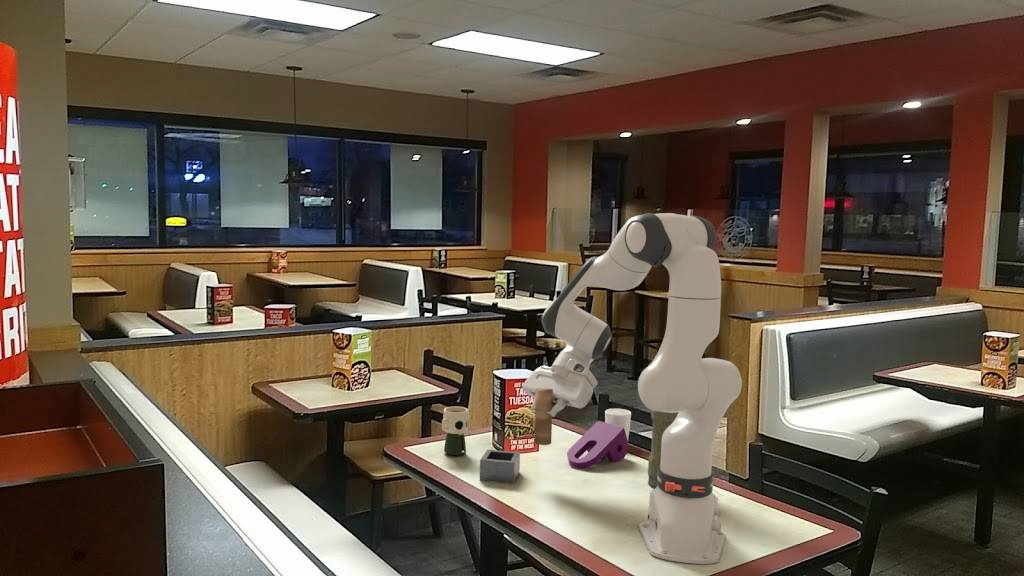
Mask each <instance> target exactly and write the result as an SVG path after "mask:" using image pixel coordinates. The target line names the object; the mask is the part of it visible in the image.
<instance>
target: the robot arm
mask: <svg viewBox="0 0 1024 576" xmlns="http://www.w3.org/2000/svg"><path fill="white" fill-rule="evenodd" d="M717 238H718V237H717V231H716V229H715V226H714V225H713V224H712V222H711V221H709V220H708V219H706V218H704V217H701V216H697V215H686V214H685V215H684V214H679V213H678V214H677V213H674V212H672V213H671V212H665V213H661V212H660V213H649V212H648V213H644V214H643V213H642V214H639V215H634V216H632V217H629V219H628V220H627V221H626V223H624V224H623V226H622V227H621V229H619V231H618V232H617V234H616V235H615V237H614V239H613V240H612V242H611V243H610V246H609V247H608V250H607V251H606V252H605V253H603V254H601V255H600V256H592V257H590V258H588V260H586V262H585V263H583V265H582V266H581V267H580V269H578V270H577V272H576V273H575V274H574V275H573V277H572V278H571V279H570V281H569V282H567V284H566V285H565V287H564V288H563V290H562V291H561V293H560V294H559V295H558V297H556V298H555V299H554V300H553V301H552V302H551V303H549V304H548V306H547V307H546V308H545V309H544V312H543V314H542V315H541V321H540V322H541V324H542V327H543V329H544V332H545V333H546V334H548V335H551V336H553V337H555V338H557V339H559V340H561V341H563V342H564V343H566V344H565V347H564V348H563V349H562V350H561V351H560V352H559V354H558V355H557V357H556V358H555V360H554V361H553V363H552V365H551V366H546V365H541V366H540V367H537V368H536V369H534V370H533V372H531V374H529V376H528V377H527V378H526V380H525V381H524V382H523V383H522V389H523V392H524V393H525V394H526V395H527V396H529V397H532V398H533V403H532V405H531V407H530V410H531V411H532V412H533V413H535V399H536V388H551V389H553V403H555V405H554V406H552V407H550V408H549V410H548V411H547V414H548V415H549V416H552V418H554V417H556V415H557V414H558V413H559V412H560V411H562V410H564V408H566V406H569V407H572V408H576V409H577V408H578V409H583V408H585V407H586V405H587V404H589V401H590V400H591V398H592V396H593V393H594V388H596V387H597V385H598V384H599V382H598V380H597V378H596V377H595V375H594V374H593V372H592V371H591V370H590V366H591V363H592V362H593V361H594V360H597V359H599V358H600V359H601V358H602V357H603V355H604V352H605V350H606V349H607V347H608V346H609V345H610V344H611V342H612V339H613V335H612V330H611V328H610V326H609V324H608V323H606V322H605V321H603V320H602V319H599V318H598V317H596V316H595V315H592V314H591V313H589V312H587V311H586V310H585V309H584V310H583V309H582V308H580V307H579V306H577V305H576V304H575V303H574V301H575V300H576V299H577V298H578V296H579V295H580V294H581V293H582V291H583V290H584V289H585V288H588V287H598V288H605V289H609V290H613V291H628V290H631V289H634V288H636V287H638V286H640V284H641V283H642V282H643V281H644V280H645V278H646V277H647V275H648V274H649V272H650V271H651V269H652V267H654V268H659V267H660V266H661V265H663V266H664V267H665V268H666V269H667V271H668V276H669V287H668V298H667V299H668V300H667V301H668V303H667V318H666V326H665V327H666V328H665V333H664V337H663V339H662V342H661V345H660V347H659V350H658V352H657V353H656V354H655V356H654V358H653V360H652V361H651V362H650V363H649V364H648V366H646V367H645V368H644V369H643V370H642V371H641V373H640V376H639V378H638V383H637V393H638V396H639V398H640V400H641V402H642V403H643V405H644V406H645V407H646V408H647V409H648V410H650V411H651V412H652V411H657V412H665V413H675V412H679V413H678V415H677V417H676V419H675V420H674V422H673V423H672V424H671V425H670V426H669V427H668V428H667V429H666V430H665V431H664V433H663V436H662V444H661V461H660V467H659V468H658V473H657V485H658V486H657V487H656V488H655V489H654V488H653V490H652V491H650V492H649V501H648V511H647V512H648V513H647V520H645V521H641V522H639V525H638V529H639V532H640V535H641V536H642V538H643V540H644V543H645V545H646V547H647V550H648V551H649V554H650V555H651V556H654V557H656V558H658V559H661V560H662V559H663V560H666V561H669V562H670V561H671V562H677V563H684V564H685V563H686V564H697V565H698V564H699V565H701V564H702V565H705V564H706V565H709V564H717V563H719V562H720V559H721V557H722V552H723V549H724V545H725V541H726V537H727V536H726V531H725V530H723V529H722V521H721V520H717V519H718V516H720V514H721V509H719V508H718V502H719V500H718V499H719V498H718V497H717V496H716V495H715V494H714V493H713V487H714V474H713V472H712V466H713V455H714V444H715V439H716V436H717V432H718V430H719V427H720V424H721V421H722V420H723V417H724V415H725V414H726V412H727V410H728V408H729V407H730V406H731V405H732V403H734V401H735V400H736V399H738V397H740V394H741V392H742V387H743V386H742V385H743V379H742V375H741V373H740V371H739V368H738V367H737V366H736V365H735V364H734V363H733V362H731V361H729V360H727V359H726V360H725V359H720V358H717V357H716V358H714V357H705V358H704V357H703V355H704V353H705V351H706V349H707V347H708V346H709V345H710V343H712V342H713V341H714V340H715V339H716V338H717V337H718V335H719V331H720V328H721V327H720V326H721V325H720V324H721V323H720V321H721V302H722V301H721V300H722V277H721V268H720V261H719V257H718V254H717V253H716V251H715V249H716V246H717ZM702 357H703V358H702Z"/></svg>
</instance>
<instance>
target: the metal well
mask: <svg viewBox="0 0 1024 576" xmlns="http://www.w3.org/2000/svg"><path fill="white" fill-rule="evenodd" d="M479 463H480V464H479V481H480V480H485V481H484V482H490V481H494V483H501V482H503V483H504V484H511V483H513V485H514V484H515V482H516V481H517V478H518V476H519V474H520V467H521V466H520V465H521V452H520V451H506V450H496V449H486V450H485V453H484V454H483V455H482V457H481V458H480V460H479ZM503 483H502V484H503Z"/></svg>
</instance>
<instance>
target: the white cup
mask: <svg viewBox="0 0 1024 576" xmlns="http://www.w3.org/2000/svg"><path fill="white" fill-rule="evenodd" d="M604 415H605V416H604V422H605V423H609V424H612V425H616V426H619V427H623V428H624V429H625V433H626V437H627V440H628V441H629V435H630V430H631V428H630V427H631V418H632V412H631V411H630V410H628V409H625V408H624V409H623V408H608V409H606V410H604Z"/></svg>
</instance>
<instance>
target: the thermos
mask: <svg viewBox="0 0 1024 576" xmlns="http://www.w3.org/2000/svg"><path fill="white" fill-rule="evenodd" d="M650 413H651V414H650V416H651V417H650V418H651V420H652V430H651V447H650V450H651V451H650V455H649V458H648V464H647V465H648V466H647V467H648V468H647V474H648V475H647V476H648V481H647V484H648V486H649V487H650V488H651V489H653V490H654V489H655V488H656V487H657V486H658V485H657V473H658V468H659V467H660V461H661V444H662V436H663V433H664V431H665V430H666V429H667V428H668V427H669V426H670V425H671V424H672V423H673V422H674V420H675V419H676V417H677V415H678V413H679V412H675V413H665V412H657V411H652V410H651V412H650Z"/></svg>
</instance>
